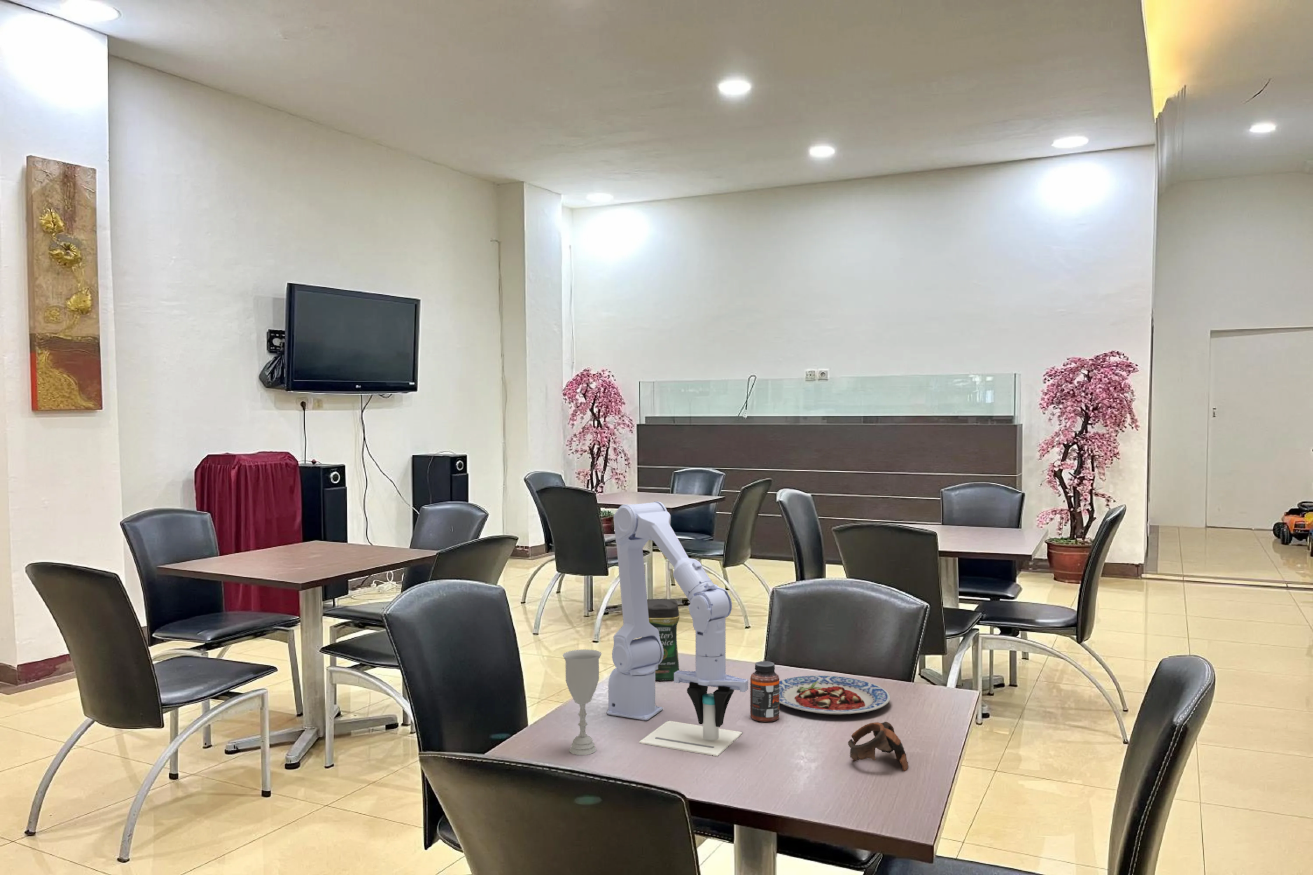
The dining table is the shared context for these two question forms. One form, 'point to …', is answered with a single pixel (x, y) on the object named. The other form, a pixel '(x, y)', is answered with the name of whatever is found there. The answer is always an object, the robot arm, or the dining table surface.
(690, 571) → the robot arm
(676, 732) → the paper
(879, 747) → the brown curved ring piece
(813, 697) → the ceramic plate
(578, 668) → the chalice
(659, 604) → the coffee jar
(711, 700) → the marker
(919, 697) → the dining table surface
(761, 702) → the supplement bottle
